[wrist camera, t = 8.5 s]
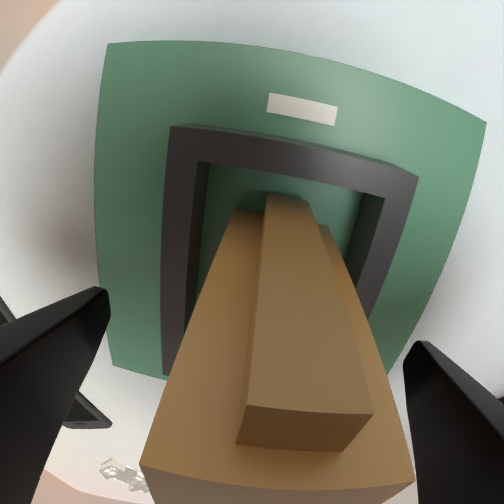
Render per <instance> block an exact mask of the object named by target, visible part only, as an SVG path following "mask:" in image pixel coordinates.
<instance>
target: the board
mask: <svg viewBox="0 0 504 504" xmlns="http://www.w3.org/2000/svg"><path fill="white" fill-rule="evenodd" d="M486 123H487V122H485V121H483V120H481V119H480V118H478V117H476V116H474V115H472V114H470V113H468V112H467V111H465V110H463V109H461V108H459V107H457V106H455V105H453V104H450V103H448V102H446V101H444V100H442V99H440V98H438V97H435V96H433V95H431V94H429V93H426V92H424V91H421V90H419V89H417V88H414V87H412V86H409V85H406V84H404V83H401V82H399V81H396V80H393V79H390V78H387V77H385V76H382V75H379V74H376V73H373V72H370V71H366V70H363V69H360V68H356V67H353V66H350V65H346V64H342V63H339V62H335V61H331V60H327V59H323V58H318V57H314V56H309V55H305V54H300V53H295V52H289V51H284V50H278V49H272V48H265V47H258V46H250V45H242V44H232V43H220V42H205V41H137V42H122V43H111V44H108V45H107V50H106V56H105V61H104V68H103V74H102V81H101V88H100V96H99V105H98V115H97V127H96V142H95V166H94V211H95V235H96V250H97V263H98V273H99V282H100V288H104V289H106V290H107V291H108V293H109V300H110V308H111V318H110V321H109V323H108V326H107V328H106V332H107V337H108V343H109V348H110V353H111V358H112V363H113V365H114V366H117V367H120V368H124V369H127V370H130V371H134V372H137V373H141V374H144V375H148V376H152V377H156V378H160V379H163V380H168V378H169V375H170V372H171V370H172V367H173V364H174V361H175V359H176V356H177V353H178V351H179V348H180V345H181V343H182V340H183V337H184V335H185V332H186V329H187V327H188V324H189V321H190V319H191V316H192V314H193V311H194V308H195V306H196V303H197V301H198V298H199V295H200V293H201V290H202V288H203V285H204V283H205V280H206V278H207V275H208V272H209V270H210V267H211V265H212V262H213V260H214V257H215V255H216V252H217V250H218V248H219V245H220V243H221V240H222V238H223V235H224V233H225V230H226V228H227V226H228V223H229V221H230V218H231V216H232V213H233V211H234V209H235V208H238V209H243V210H249V211H255V212H260V213H264V209H265V204H266V198H267V193H272V194H278V195H283V196H288V197H293V198H298V199H303V200H308V201H309V204H310V207H311V209H312V212H313V215H314V217H315V220H316V223H317V224H322V225H327V226H329V229H330V231H331V233H332V235H333V238H334V240H335V242H336V244H337V247H338V249H339V251H340V254H341V256H342V258H343V261H344V263H345V266H346V268H347V270H348V273H349V275H350V278H351V280H352V283H353V285H354V288H355V290H356V293H357V295H358V298H359V300H360V303H361V305H362V308H363V311H364V313H365V316H366V319H367V321H368V324H369V327H370V329H371V332H372V335H373V338H374V340H375V343H376V346H377V349H378V352H379V355H380V358H381V360H382V363H383V366H384V369H385V372H386V376H387V374H388V373H389V371H390V369H391V368H392V366H393V365H394V363H395V361H396V360H397V358H398V356H399V355H400V353H401V351H402V349H403V348H404V346H405V344H406V342H407V341H408V339H409V337H410V335H411V333H412V332H413V330H414V328H415V326H416V324H417V322H418V320H419V318H420V316H421V314H422V312H423V310H424V308H425V306H426V304H427V302H428V300H429V298H430V296H431V294H432V292H433V290H434V288H435V285H436V283H437V281H438V279H439V276H440V274H441V272H442V269H443V267H444V265H445V262H446V260H447V257H448V255H449V252H450V250H451V247H452V245H453V242H454V239H455V237H456V234H457V231H458V229H459V226H460V223H461V220H462V217H463V214H464V211H465V208H466V205H467V201H468V198H469V195H470V191H471V188H472V184H473V181H474V177H475V173H476V170H477V166H478V162H479V157H480V153H481V148H482V144H483V139H484V134H485V129H486Z"/></svg>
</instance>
